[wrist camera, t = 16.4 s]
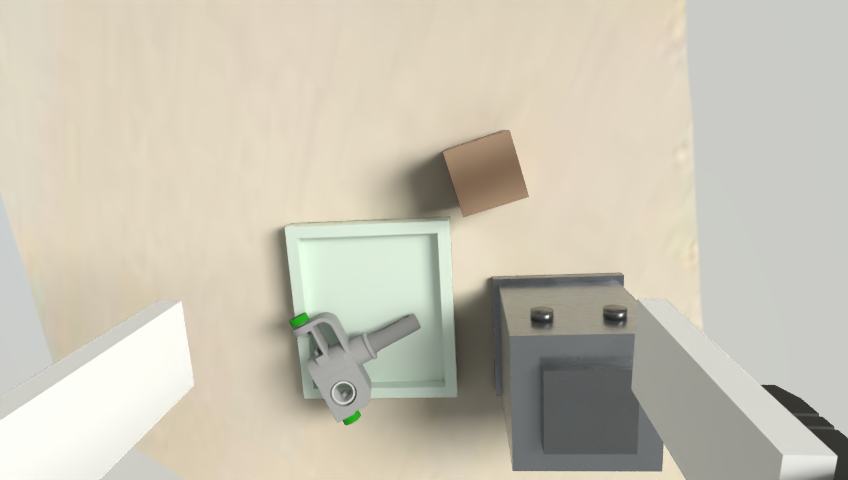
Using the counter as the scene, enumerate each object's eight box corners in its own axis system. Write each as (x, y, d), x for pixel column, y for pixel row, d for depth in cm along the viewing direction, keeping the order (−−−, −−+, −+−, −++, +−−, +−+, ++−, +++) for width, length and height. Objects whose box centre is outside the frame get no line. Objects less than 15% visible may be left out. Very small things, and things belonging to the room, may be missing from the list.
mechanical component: (391, 270, 43) (283, 325, 42) (445, 376, 44) (341, 432, 43) (390, 266, 46) (289, 318, 45) (441, 366, 47) (343, 418, 46)
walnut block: (446, 149, 43) (442, 152, 37) (503, 130, 42) (509, 130, 36) (463, 205, 44) (463, 217, 38) (520, 187, 43) (528, 196, 37)
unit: (492, 275, 45) (503, 333, 32) (620, 271, 44) (684, 329, 31) (495, 390, 47) (506, 487, 35) (617, 389, 46) (675, 488, 34)
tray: (292, 223, 45) (284, 227, 43) (449, 216, 44) (449, 220, 42) (310, 388, 49) (304, 398, 47) (457, 386, 47) (457, 397, 46)
